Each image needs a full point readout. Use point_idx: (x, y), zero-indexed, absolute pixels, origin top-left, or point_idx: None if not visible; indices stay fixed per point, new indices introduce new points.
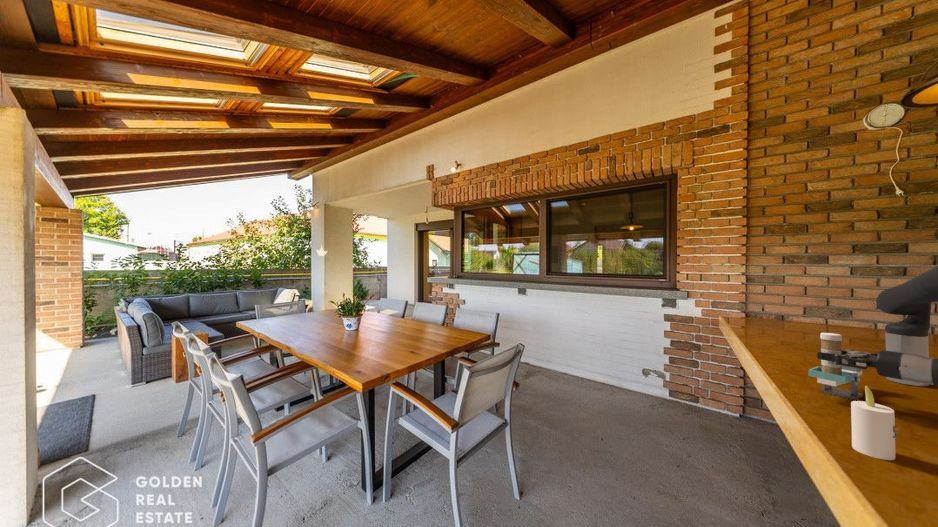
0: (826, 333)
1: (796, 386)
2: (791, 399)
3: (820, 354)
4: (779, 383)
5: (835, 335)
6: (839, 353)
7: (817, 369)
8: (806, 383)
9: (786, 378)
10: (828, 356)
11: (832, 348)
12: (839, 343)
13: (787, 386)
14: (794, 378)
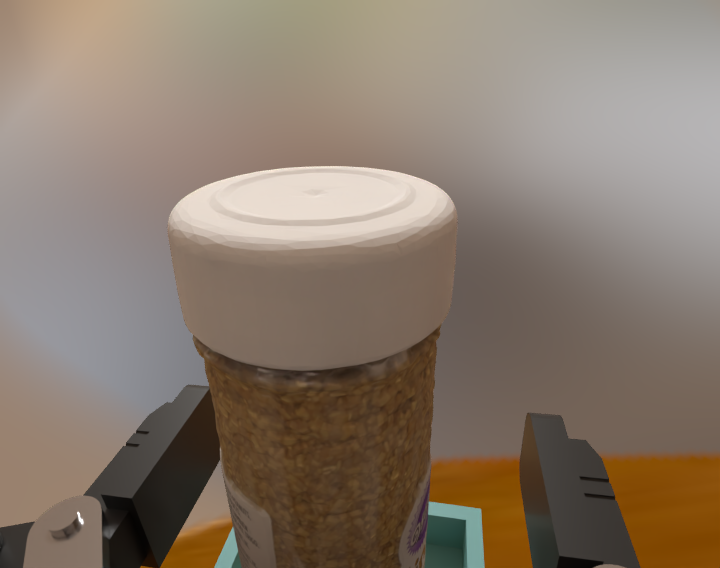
0: (303, 178)
1: (499, 531)
2: (192, 553)
3: (157, 412)
4: (471, 466)
5: (170, 224)
6: (253, 531)
7: None
8: (643, 560)
9: (621, 470)
10: (111, 472)
11: (215, 417)
12: (244, 397)
13: (449, 499)
14: (678, 496)
